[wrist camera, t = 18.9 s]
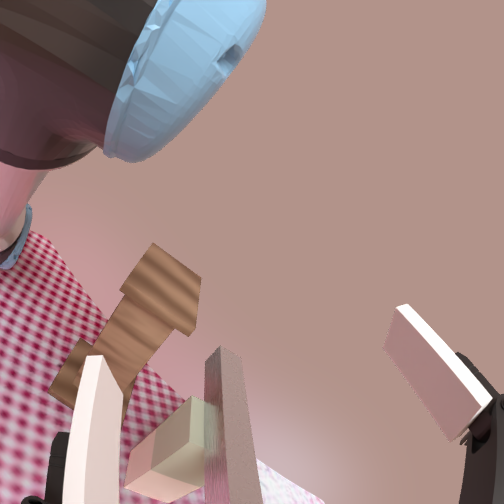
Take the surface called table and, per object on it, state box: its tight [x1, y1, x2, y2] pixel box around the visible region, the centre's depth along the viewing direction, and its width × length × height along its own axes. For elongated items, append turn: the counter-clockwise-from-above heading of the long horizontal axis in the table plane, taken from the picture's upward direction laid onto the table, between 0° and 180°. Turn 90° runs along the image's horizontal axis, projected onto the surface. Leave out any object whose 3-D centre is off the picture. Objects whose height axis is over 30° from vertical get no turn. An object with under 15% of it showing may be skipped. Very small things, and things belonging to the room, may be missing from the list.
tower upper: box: [151, 396, 204, 487], centre depth 33 cm, size 8×8×10 cm
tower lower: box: [124, 429, 201, 503], centre depth 35 cm, size 8×8×10 cm
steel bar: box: [204, 346, 263, 504], centre depth 31 cm, size 28×4×4 cm, turn 8°
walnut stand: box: [47, 243, 201, 429], centre depth 43 cm, size 16×14×28 cm
